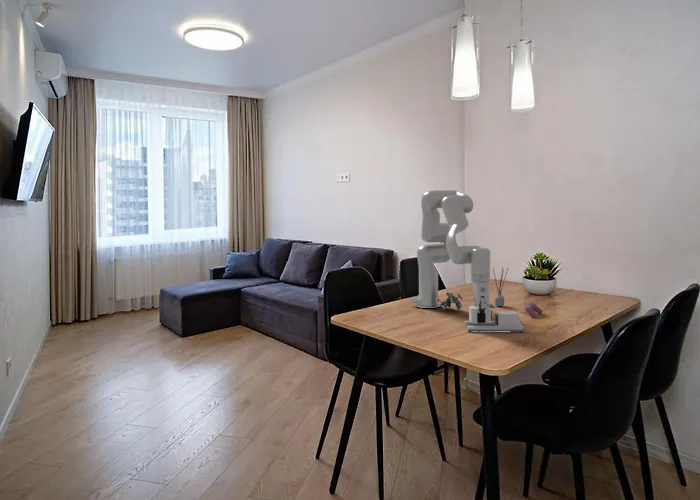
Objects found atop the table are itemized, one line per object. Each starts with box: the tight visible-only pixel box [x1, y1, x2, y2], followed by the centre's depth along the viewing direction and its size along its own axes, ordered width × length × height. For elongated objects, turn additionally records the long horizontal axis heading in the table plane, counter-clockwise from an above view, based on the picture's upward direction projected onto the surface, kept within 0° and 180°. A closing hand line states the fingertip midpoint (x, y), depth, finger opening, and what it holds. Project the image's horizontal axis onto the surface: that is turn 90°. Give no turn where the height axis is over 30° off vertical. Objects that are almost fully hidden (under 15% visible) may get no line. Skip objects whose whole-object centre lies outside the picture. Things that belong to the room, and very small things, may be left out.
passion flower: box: [438, 291, 464, 312], centre depth 218 cm, size 11×11×12 cm
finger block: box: [468, 305, 493, 323], centre depth 187 cm, size 8×5×6 cm, turn 84°
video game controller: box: [524, 301, 543, 319], centre depth 207 cm, size 10×5×7 cm, turn 141°
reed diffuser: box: [489, 267, 509, 308], centre depth 223 cm, size 10×7×20 cm
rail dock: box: [464, 310, 525, 332], centre depth 186 cm, size 22×10×7 cm, turn 84°
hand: (480, 320), depth 187 cm, fingers closed on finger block, 5 cm apart
